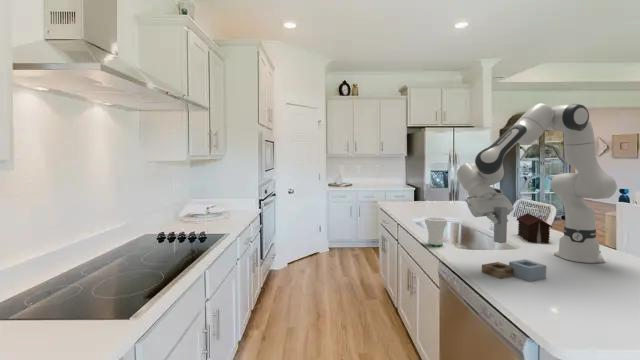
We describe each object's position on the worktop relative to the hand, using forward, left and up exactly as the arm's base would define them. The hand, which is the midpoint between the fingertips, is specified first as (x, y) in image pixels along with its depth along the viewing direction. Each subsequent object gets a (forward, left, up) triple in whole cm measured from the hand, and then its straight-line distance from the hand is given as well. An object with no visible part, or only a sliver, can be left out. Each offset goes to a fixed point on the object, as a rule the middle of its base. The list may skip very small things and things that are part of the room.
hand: (501, 222), depth 141 cm
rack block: (-4, +8, -21) cm, 23 cm away
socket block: (0, -1, -21) cm, 21 cm away
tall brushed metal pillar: (0, -1, -8) cm, 8 cm away
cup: (-26, -40, -21) cm, 52 cm away
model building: (-76, -6, -21) cm, 79 cm away
